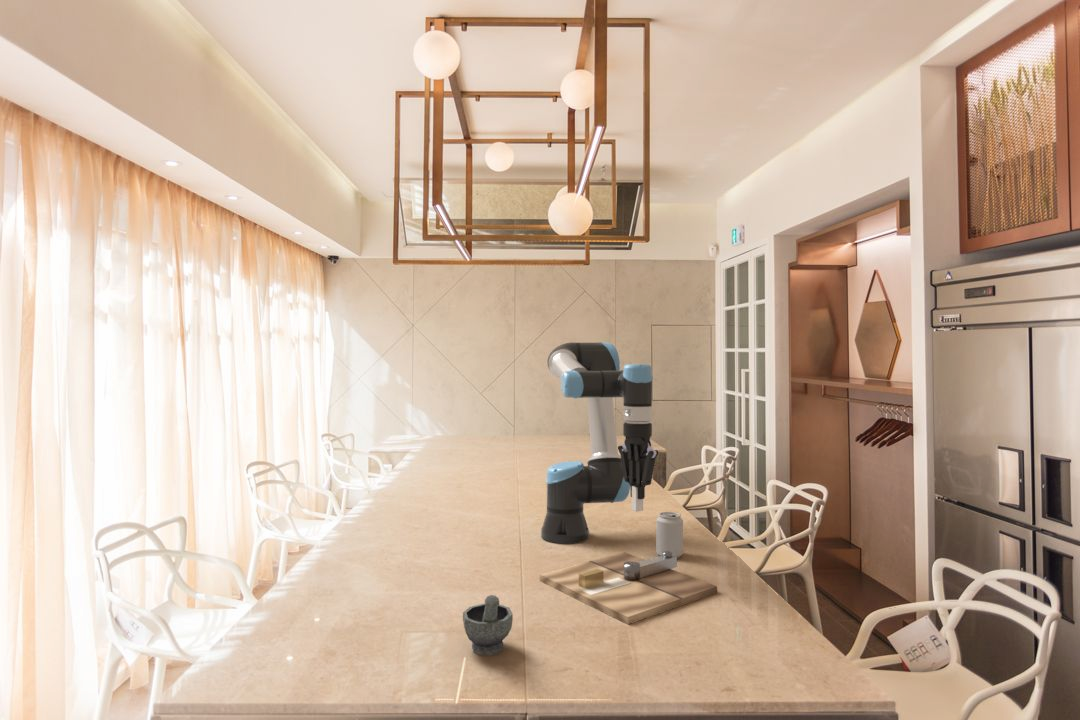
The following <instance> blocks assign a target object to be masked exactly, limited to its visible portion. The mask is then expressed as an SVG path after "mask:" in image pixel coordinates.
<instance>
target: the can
mask: <svg viewBox="0 0 1080 720" xmlns="http://www.w3.org/2000/svg"><path fill="white" fill-rule="evenodd" d="M681 515H682V514H680V513H678V512H673V511H662V512H659V513H658V516H657V518H656V522H655V523H656V524H655V528H656V529H655V530H656V534H655V535H656V537H655V538H656V539H655V540H656V542H655V544H656V545H655V546H656V548H655V549H656V550H655V551H656V554H658V556H661V555H663V552H664V551H669V552H672V555H674V556H677V559H679V558H680V557H681V556H682V555H683V553H684V521H683V519H682V518H681Z"/></svg>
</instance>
